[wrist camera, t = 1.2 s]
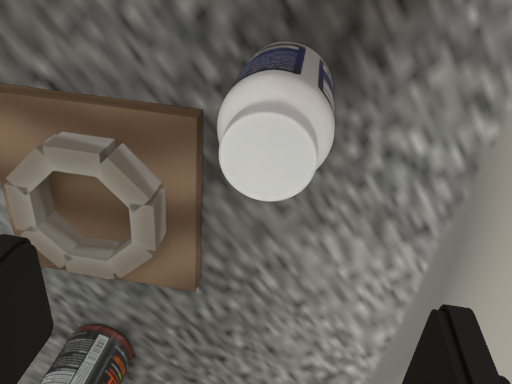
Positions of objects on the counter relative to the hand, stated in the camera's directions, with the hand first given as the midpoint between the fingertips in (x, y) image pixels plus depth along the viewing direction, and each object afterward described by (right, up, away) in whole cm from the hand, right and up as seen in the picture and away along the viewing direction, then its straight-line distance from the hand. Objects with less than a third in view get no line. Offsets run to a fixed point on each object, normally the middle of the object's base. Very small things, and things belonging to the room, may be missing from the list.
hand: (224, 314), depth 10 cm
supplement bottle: (-13, -11, +30) cm, 34 cm away
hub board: (-10, +3, +21) cm, 23 cm away
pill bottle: (+3, +9, +15) cm, 18 cm away
